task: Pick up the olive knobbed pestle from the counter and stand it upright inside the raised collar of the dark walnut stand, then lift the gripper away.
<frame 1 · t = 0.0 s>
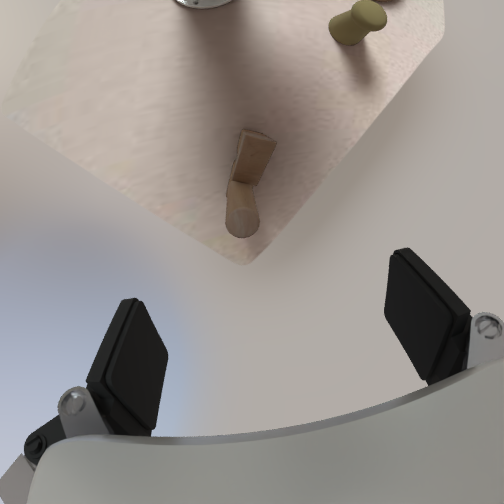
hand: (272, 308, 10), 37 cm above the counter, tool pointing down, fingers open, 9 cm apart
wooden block: (244, 162, 44), on the counter
olive knobbed pestle: (345, 30, 33), on the counter
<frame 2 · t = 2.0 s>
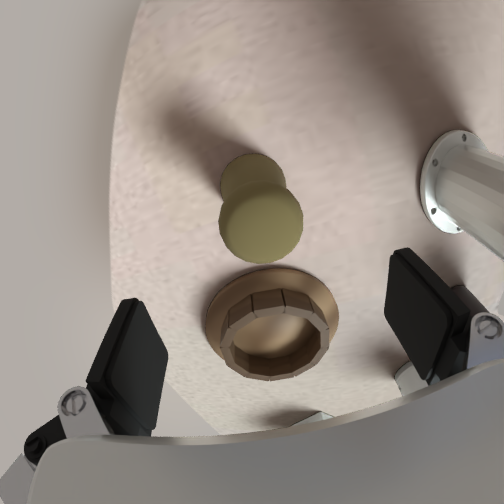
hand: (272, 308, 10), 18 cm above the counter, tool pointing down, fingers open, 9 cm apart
travel mug: (408, 369, 41), on the counter
bottle: (450, 301, 35), on the counter
collar stand: (272, 325, 33), on the counter
olive knobbed pestle: (252, 185, 26), on the counter
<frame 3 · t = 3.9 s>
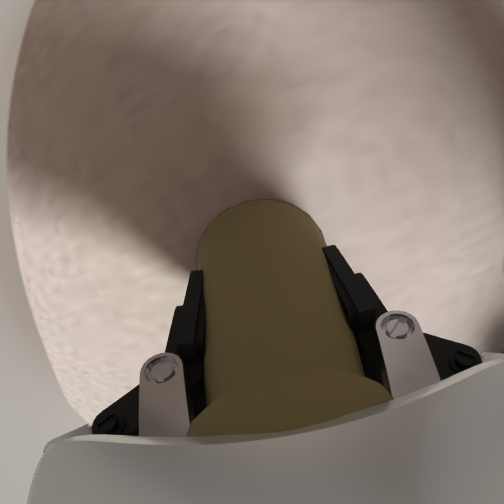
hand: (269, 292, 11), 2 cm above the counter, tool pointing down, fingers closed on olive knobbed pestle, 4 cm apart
olive knobbed pestle: (262, 260, 13), on the counter, touching gripper
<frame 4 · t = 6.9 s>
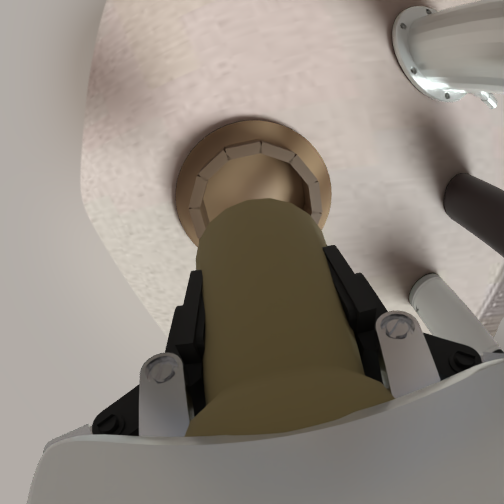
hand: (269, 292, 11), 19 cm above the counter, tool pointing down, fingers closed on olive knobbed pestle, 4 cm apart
travel mug: (423, 290, 37), on the counter
bottle: (458, 195, 30), on the counter
collar stand: (254, 197, 29), on the counter
olive knobbed pestle: (262, 259, 13), point 17 cm above the counter, touching gripper
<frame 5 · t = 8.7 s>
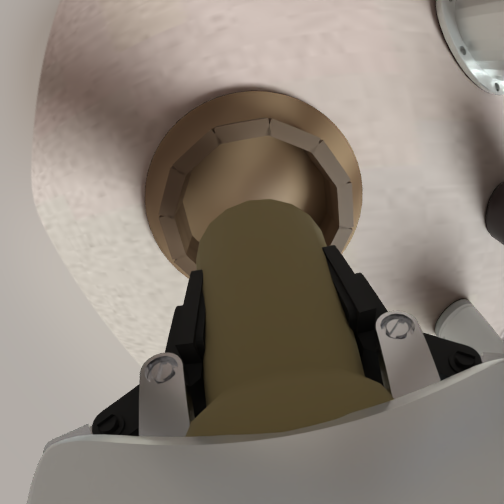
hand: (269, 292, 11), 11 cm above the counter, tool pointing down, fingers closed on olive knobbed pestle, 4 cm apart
travel mug: (451, 317, 29), on the counter
bottle: (500, 208, 22), on the counter
collar stand: (255, 201, 21), on the counter
olive knobbed pestle: (262, 260, 13), point 9 cm above the counter, touching gripper
when the fingers open (5 cm above the counter, at t = 10.1 s): olive knobbed pestle drops 2 cm, resting on collar stand.
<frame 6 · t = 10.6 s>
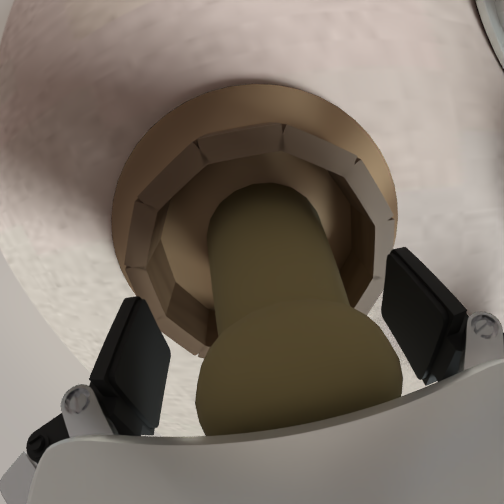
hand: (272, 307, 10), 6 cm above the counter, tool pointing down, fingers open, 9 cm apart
collar stand: (258, 236, 16), on the counter
olive knobbed pestle: (265, 238, 15), point 1 cm above the counter, touching collar stand
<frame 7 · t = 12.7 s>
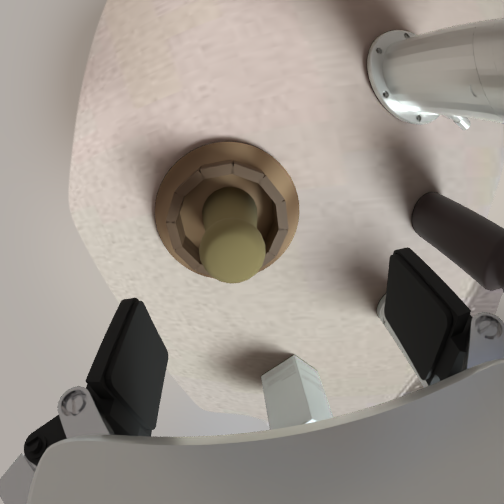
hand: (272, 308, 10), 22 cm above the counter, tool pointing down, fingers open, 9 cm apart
travel mug: (392, 303, 40), on the counter
bottle: (427, 213, 34), on the counter
collar stand: (227, 213, 31), on the counter
olive knobbed pestle: (229, 213, 31), point 1 cm above the counter, touching collar stand
supplement box: (289, 372, 45), on the counter
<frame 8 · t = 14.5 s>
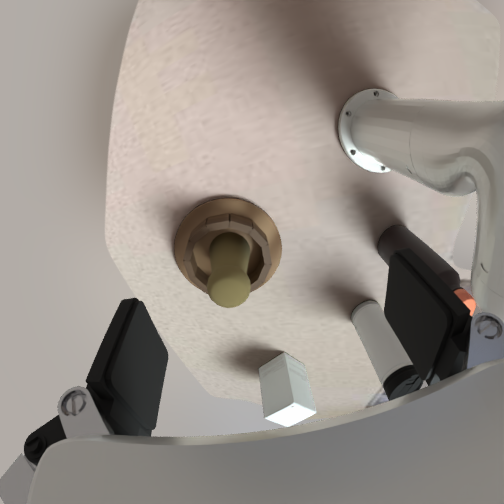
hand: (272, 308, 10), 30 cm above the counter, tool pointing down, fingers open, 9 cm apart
travel mug: (364, 312, 51), on the counter
bottle: (393, 242, 44), on the counter
collar stand: (227, 249, 43), on the counter
olive knobbed pestle: (229, 250, 42), point 1 cm above the counter, touching collar stand
supplement box: (281, 366, 56), on the counter
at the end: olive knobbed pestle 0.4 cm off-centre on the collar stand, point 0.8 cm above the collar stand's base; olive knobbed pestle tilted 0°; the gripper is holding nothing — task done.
